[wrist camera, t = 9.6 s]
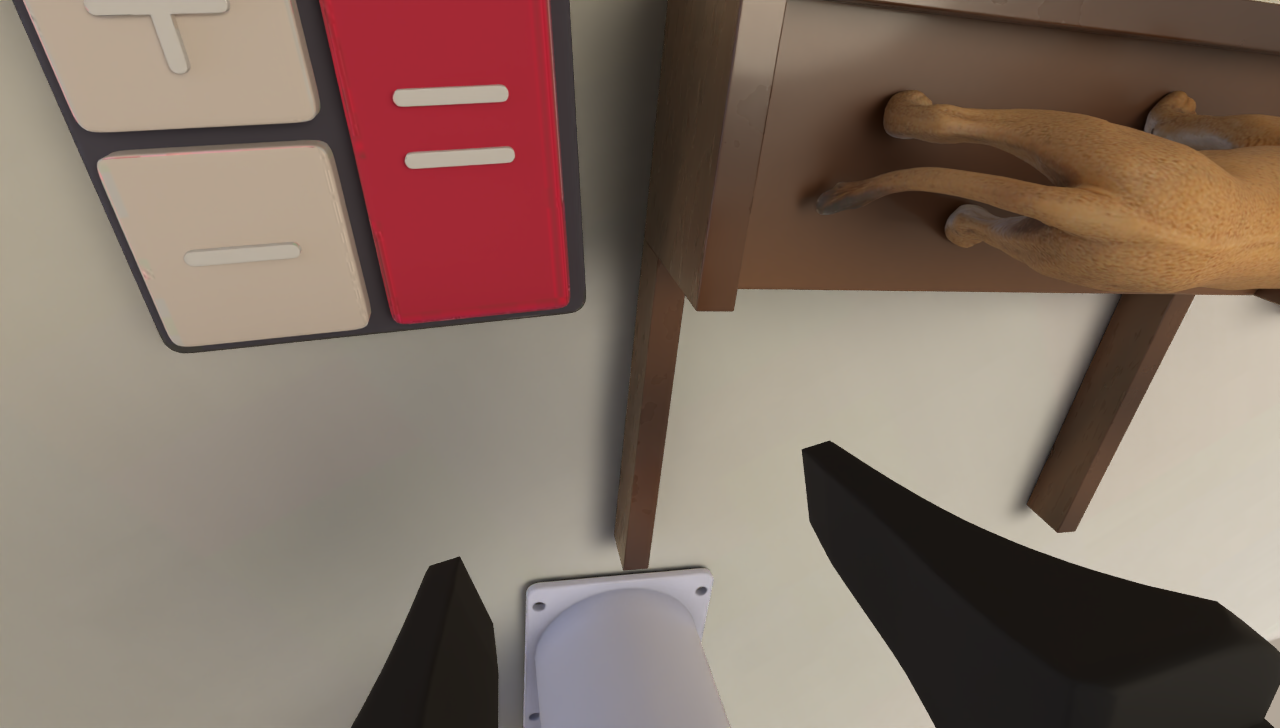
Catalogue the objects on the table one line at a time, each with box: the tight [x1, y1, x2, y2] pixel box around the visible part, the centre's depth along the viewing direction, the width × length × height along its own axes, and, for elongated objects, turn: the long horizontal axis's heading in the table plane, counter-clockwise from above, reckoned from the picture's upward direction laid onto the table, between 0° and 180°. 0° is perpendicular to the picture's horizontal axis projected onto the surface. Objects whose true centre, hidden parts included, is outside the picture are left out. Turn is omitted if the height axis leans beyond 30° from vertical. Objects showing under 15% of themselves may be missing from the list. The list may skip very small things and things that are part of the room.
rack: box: [614, 0, 1280, 571], centre depth 22 cm, size 20×21×6 cm
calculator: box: [12, 0, 586, 353], centre depth 15 cm, size 11×4×15 cm
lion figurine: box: [815, 90, 1280, 294], centre depth 14 cm, size 15×5×9 cm, turn 96°
